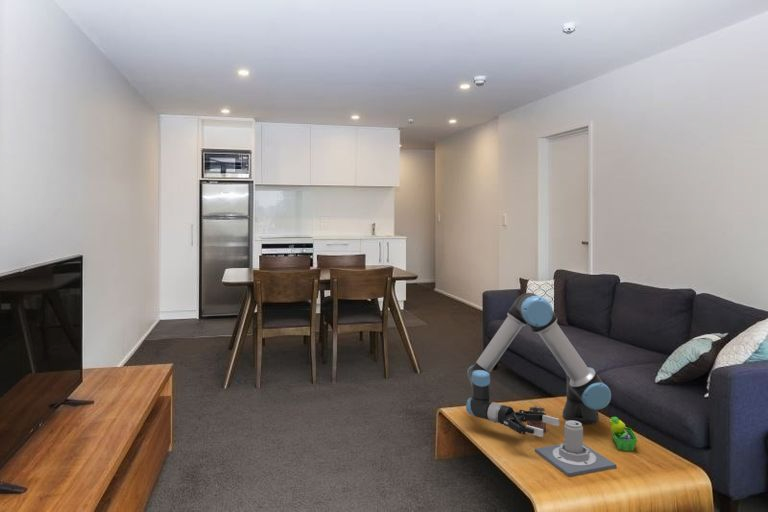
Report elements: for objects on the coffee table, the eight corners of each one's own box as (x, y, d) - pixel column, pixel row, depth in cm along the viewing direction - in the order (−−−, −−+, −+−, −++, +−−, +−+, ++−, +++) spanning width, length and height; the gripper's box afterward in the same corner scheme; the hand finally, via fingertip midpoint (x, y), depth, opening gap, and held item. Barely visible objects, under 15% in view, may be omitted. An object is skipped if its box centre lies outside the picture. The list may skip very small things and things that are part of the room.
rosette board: (579, 444, 191) (579, 434, 191) (616, 467, 172) (616, 456, 171) (534, 451, 185) (534, 441, 185) (568, 476, 166) (568, 465, 166)
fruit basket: (638, 453, 183) (638, 423, 182) (612, 450, 185) (612, 422, 184) (630, 440, 194) (630, 412, 193) (606, 438, 196) (606, 411, 195)
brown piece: (526, 430, 205) (526, 407, 204) (526, 427, 208) (526, 404, 208) (546, 433, 202) (546, 409, 201) (546, 429, 205) (546, 406, 204)
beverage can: (584, 459, 175) (584, 426, 174) (565, 458, 176) (565, 425, 175) (581, 451, 181) (581, 420, 180) (563, 450, 182) (562, 419, 182)
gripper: (516, 414, 208) (564, 427, 193) (485, 432, 190) (535, 448, 175) (516, 397, 208) (564, 409, 193) (484, 413, 190) (535, 428, 175)
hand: (551, 427), depth 184 cm, fingers open, 13 cm apart
